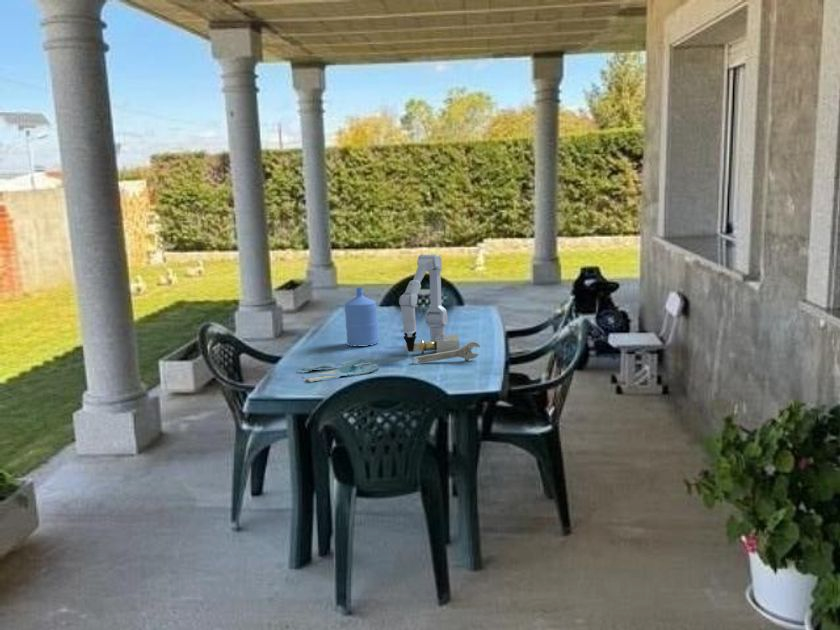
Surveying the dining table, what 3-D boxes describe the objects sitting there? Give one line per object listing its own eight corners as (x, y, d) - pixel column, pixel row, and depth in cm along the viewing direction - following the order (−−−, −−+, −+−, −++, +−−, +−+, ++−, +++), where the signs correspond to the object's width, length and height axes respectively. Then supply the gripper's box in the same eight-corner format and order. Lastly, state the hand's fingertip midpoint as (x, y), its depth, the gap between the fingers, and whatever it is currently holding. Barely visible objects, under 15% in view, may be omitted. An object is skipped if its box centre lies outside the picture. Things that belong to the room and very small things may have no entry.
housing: (436, 350, 357) (435, 335, 355) (458, 348, 357) (457, 334, 355) (437, 356, 343) (436, 341, 342) (459, 355, 343) (458, 340, 342)
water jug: (374, 347, 370) (370, 290, 366) (343, 347, 374) (339, 290, 369) (382, 340, 386) (378, 285, 381) (352, 341, 389) (348, 286, 384)
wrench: (413, 369, 334) (481, 358, 333) (414, 370, 332) (482, 358, 332) (410, 352, 332) (478, 340, 332) (410, 352, 331) (479, 341, 330)
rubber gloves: (292, 370, 334) (291, 356, 333) (363, 360, 346) (362, 346, 345) (309, 384, 309) (308, 368, 308) (384, 372, 321) (384, 357, 320)
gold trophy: (406, 352, 353) (405, 339, 352) (436, 351, 353) (436, 337, 352) (406, 355, 347) (405, 342, 346) (437, 354, 347) (436, 340, 345)
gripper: (400, 318, 354) (402, 346, 357) (400, 323, 340) (401, 353, 342) (416, 317, 354) (417, 345, 357) (415, 322, 340) (417, 352, 342)
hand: (410, 349), depth 349 cm, fingers open, 7 cm apart
